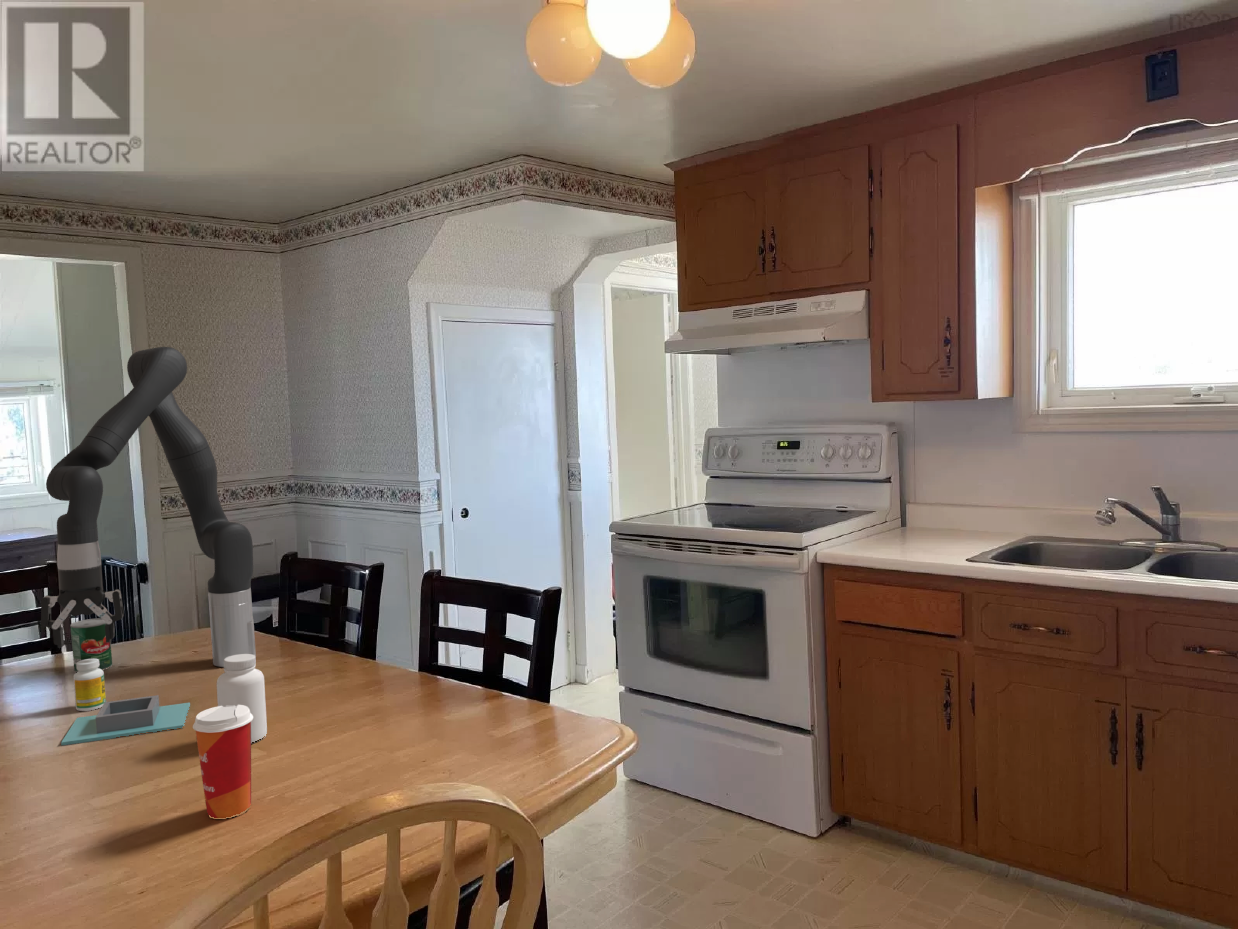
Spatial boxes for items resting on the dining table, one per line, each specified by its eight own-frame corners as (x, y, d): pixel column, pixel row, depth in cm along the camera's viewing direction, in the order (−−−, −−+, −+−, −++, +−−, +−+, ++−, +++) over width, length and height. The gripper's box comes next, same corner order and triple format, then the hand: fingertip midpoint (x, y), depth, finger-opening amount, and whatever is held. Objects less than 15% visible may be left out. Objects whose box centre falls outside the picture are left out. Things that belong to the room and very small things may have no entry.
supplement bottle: (73, 707, 186) (70, 661, 185) (103, 701, 189) (99, 655, 189) (78, 714, 182) (74, 666, 181) (108, 707, 185) (105, 661, 185)
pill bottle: (277, 733, 167) (272, 653, 166) (242, 749, 160) (237, 666, 159) (245, 728, 170) (240, 649, 169) (210, 744, 163) (204, 661, 162)
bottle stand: (190, 705, 185) (188, 688, 184) (183, 728, 172) (182, 709, 171) (77, 720, 178) (76, 702, 178) (61, 745, 165) (59, 726, 164)
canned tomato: (90, 663, 218) (86, 618, 217) (120, 663, 217) (116, 618, 216) (65, 673, 211) (62, 626, 210) (96, 673, 209) (93, 626, 209)
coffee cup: (210, 800, 140) (204, 704, 138) (266, 796, 140) (259, 701, 139) (189, 826, 131) (182, 724, 130) (248, 822, 132) (242, 721, 131)
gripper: (122, 559, 189) (127, 636, 191) (43, 564, 185) (48, 643, 186) (116, 564, 182) (121, 644, 184) (33, 571, 178) (39, 653, 179)
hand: (84, 644), depth 185 cm, fingers open, 8 cm apart
